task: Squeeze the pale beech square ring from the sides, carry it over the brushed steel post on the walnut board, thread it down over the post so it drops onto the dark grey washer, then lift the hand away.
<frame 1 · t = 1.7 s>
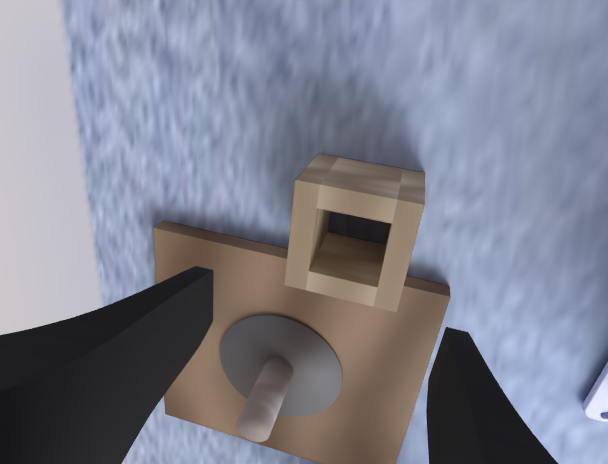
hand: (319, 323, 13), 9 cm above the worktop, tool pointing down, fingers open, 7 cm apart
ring: (361, 211, 21), on the worktop
post board: (285, 355, 26), on the worktop
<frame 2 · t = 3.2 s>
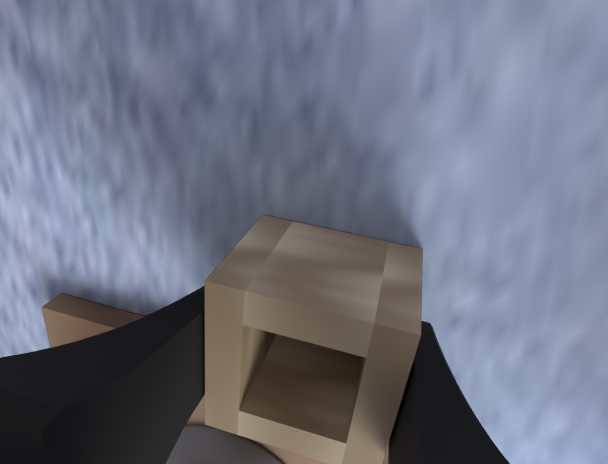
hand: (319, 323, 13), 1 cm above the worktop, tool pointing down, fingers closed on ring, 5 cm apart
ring: (329, 297, 14), on the worktop, touching gripper
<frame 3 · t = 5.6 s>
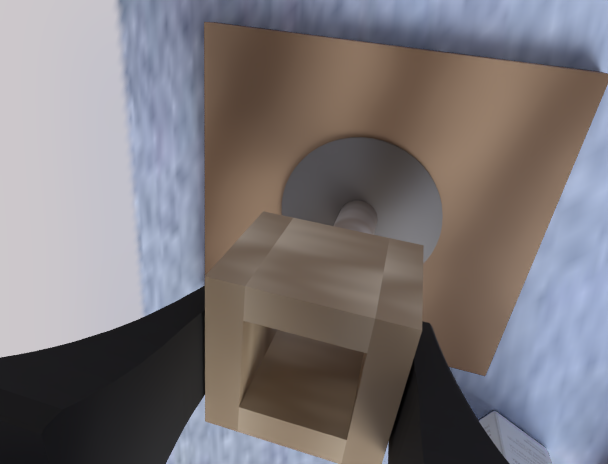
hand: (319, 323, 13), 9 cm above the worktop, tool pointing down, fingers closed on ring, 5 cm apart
skincare box: (484, 447, 26), on the worktop
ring: (329, 294, 14), point 8 cm above the worktop, touching gripper
post board: (361, 208, 21), on the worktop
when the fingers open (4 cm above the worktop, at t = 8.0 s): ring drops 1 cm, resting on post board.
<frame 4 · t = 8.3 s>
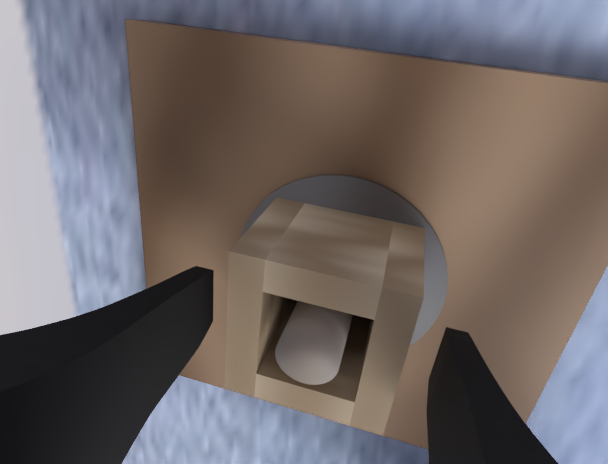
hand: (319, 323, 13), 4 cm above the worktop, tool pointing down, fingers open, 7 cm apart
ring: (337, 275, 15), point 1 cm above the worktop, touching post board
post board: (342, 261, 16), on the worktop
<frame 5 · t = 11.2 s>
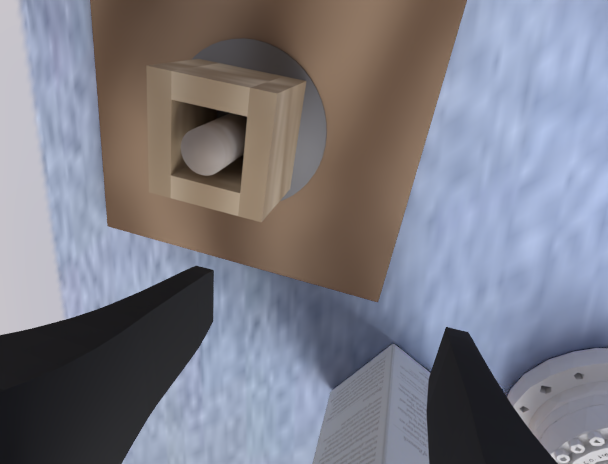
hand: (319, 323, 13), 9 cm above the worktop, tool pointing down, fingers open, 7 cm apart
skincare box: (387, 384, 26), on the worktop
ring: (246, 126, 19), point 1 cm above the worktop, touching post board
mechanical component: (600, 413, 23), on the worktop
post board: (255, 123, 20), on the worktop
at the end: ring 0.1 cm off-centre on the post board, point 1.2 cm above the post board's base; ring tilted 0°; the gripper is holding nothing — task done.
